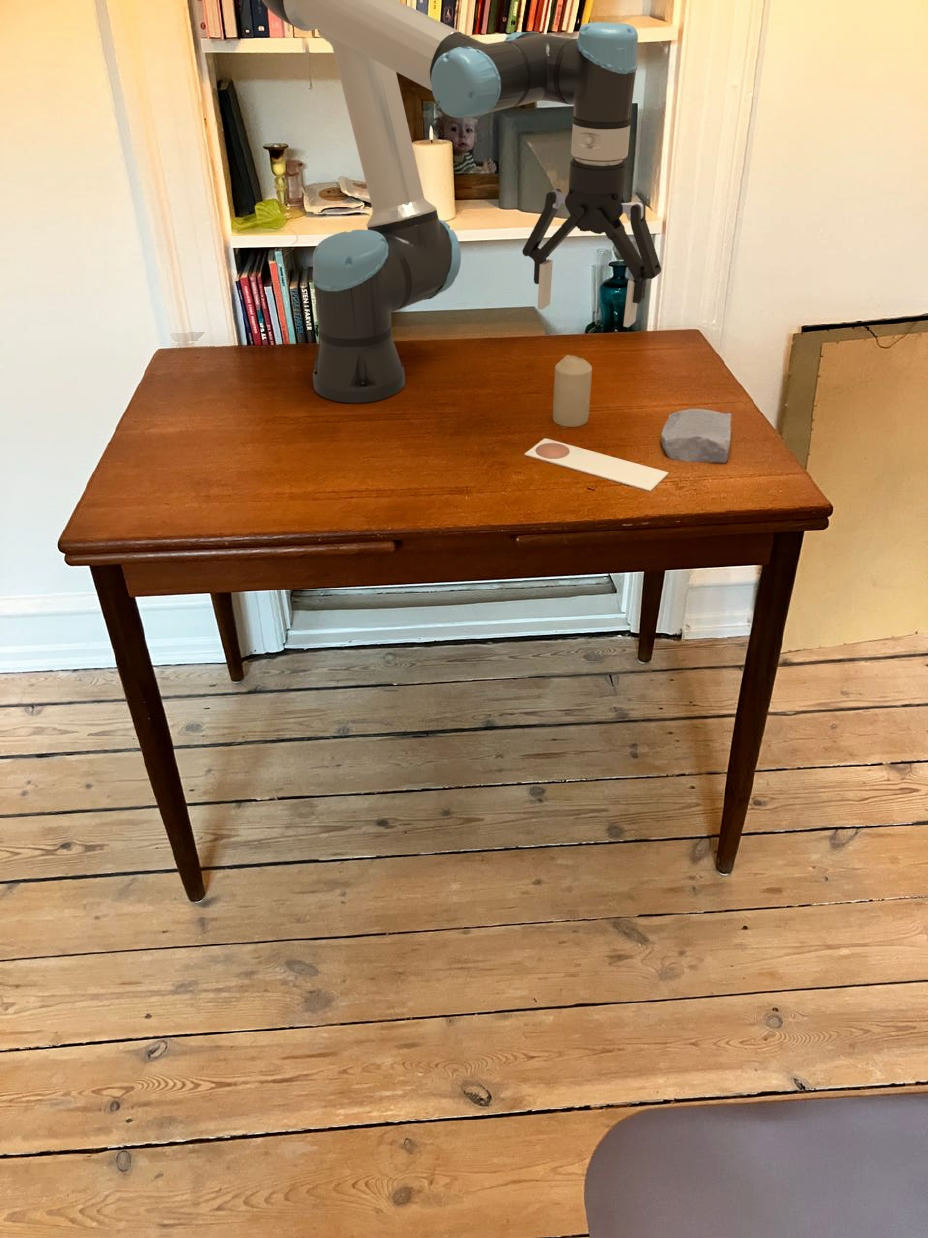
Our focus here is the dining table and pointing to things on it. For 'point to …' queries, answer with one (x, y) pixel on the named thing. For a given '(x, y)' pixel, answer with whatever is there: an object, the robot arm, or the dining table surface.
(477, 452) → the dining table surface
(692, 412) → the stone block
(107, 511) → the dining table surface
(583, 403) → the candle
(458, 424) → the dining table surface
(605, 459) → the test strip
